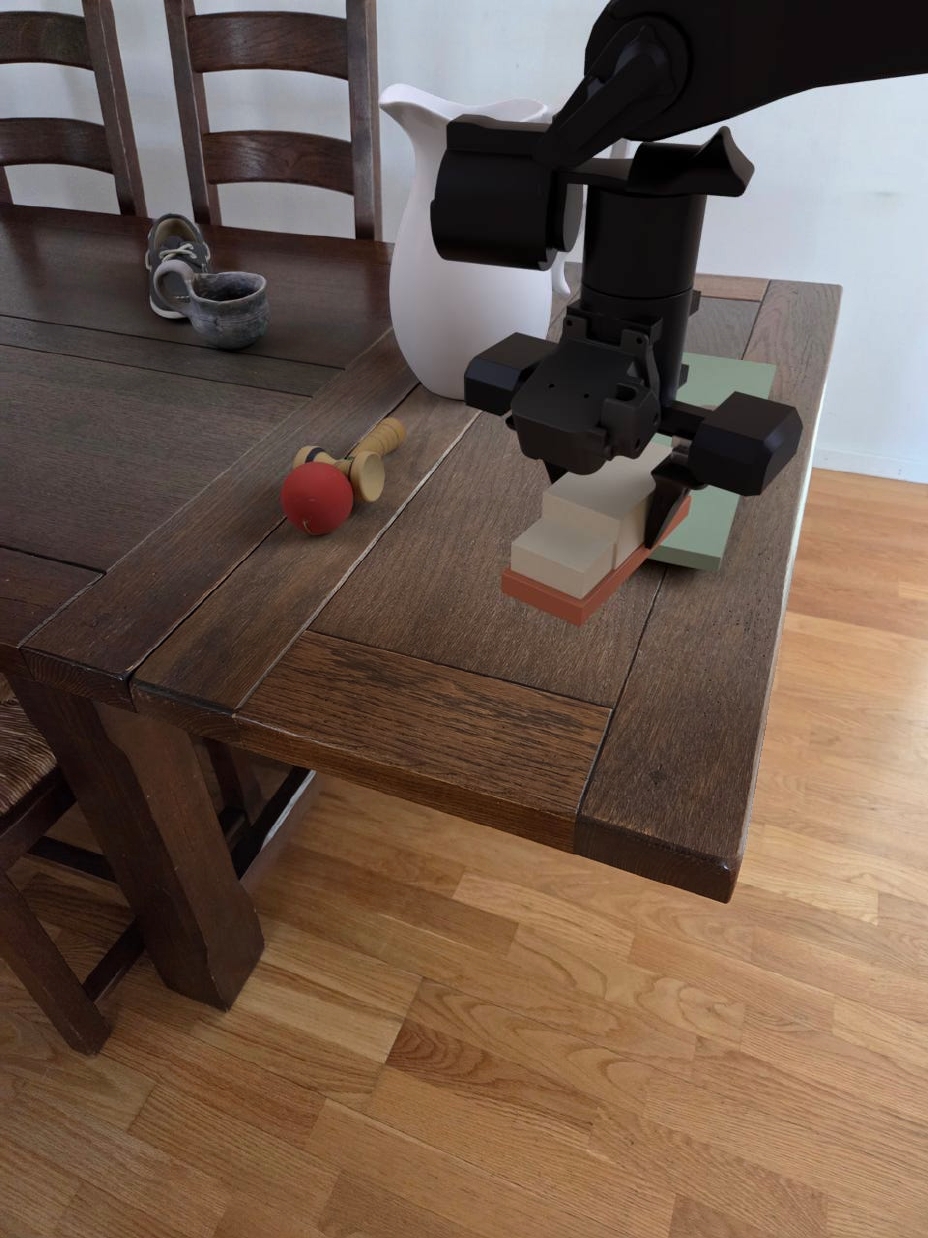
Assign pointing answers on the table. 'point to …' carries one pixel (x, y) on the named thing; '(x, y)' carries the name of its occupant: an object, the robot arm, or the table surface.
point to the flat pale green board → (710, 507)
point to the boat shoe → (174, 258)
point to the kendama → (337, 480)
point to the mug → (219, 304)
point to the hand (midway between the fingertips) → (609, 530)
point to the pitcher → (456, 291)
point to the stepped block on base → (587, 537)
